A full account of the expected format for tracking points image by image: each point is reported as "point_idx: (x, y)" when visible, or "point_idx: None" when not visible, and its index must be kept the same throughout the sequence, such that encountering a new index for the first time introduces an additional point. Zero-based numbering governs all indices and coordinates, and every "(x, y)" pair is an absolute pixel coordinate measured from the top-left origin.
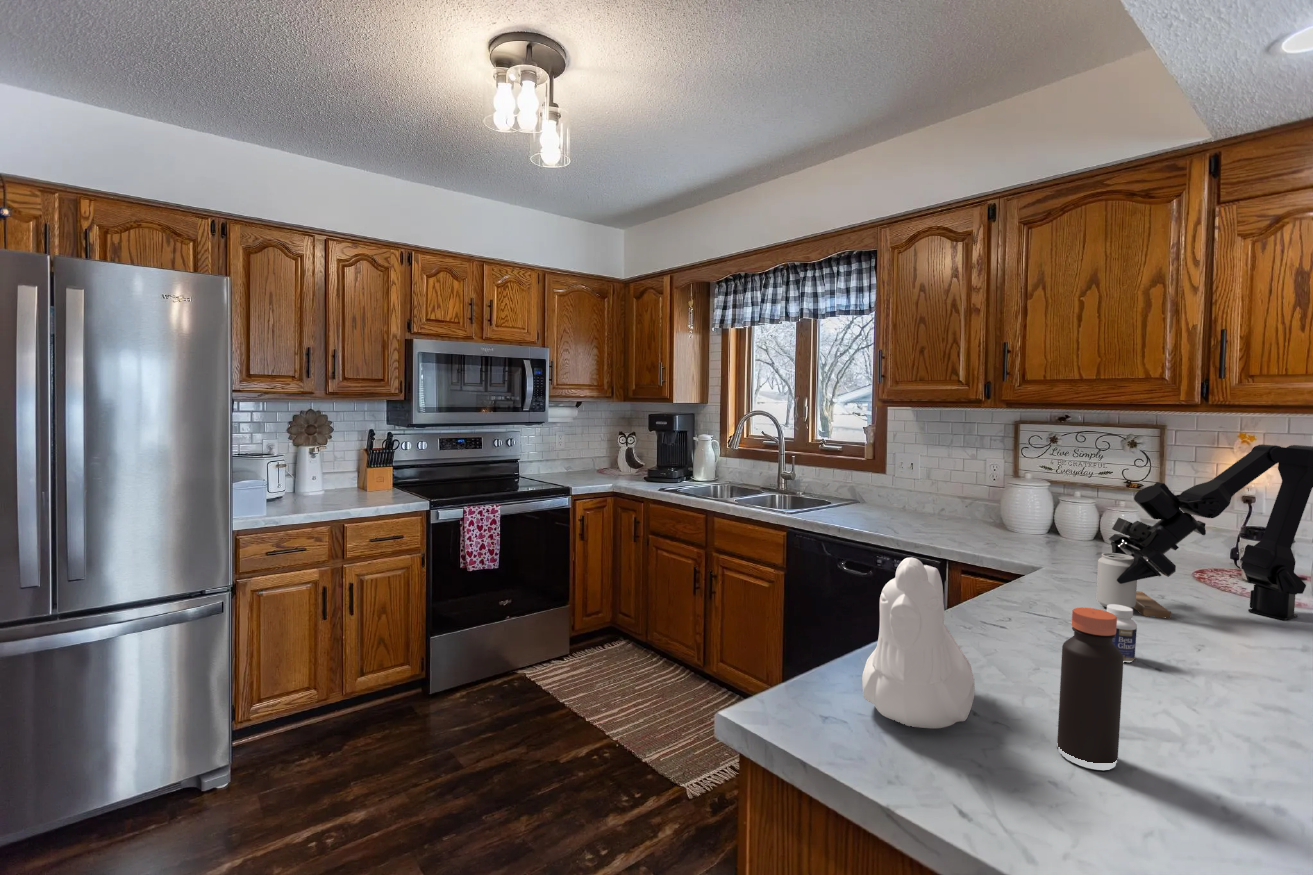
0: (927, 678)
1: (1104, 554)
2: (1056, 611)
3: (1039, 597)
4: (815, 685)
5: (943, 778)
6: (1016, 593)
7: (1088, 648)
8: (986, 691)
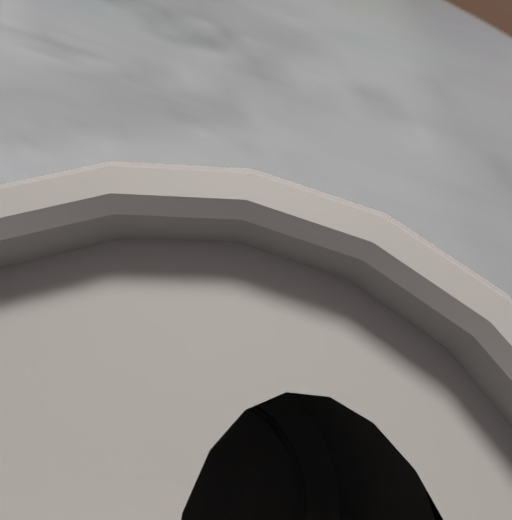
0: None
1: (424, 311)
2: (51, 87)
3: (323, 96)
4: None
5: None
6: (361, 15)
7: None
8: None
